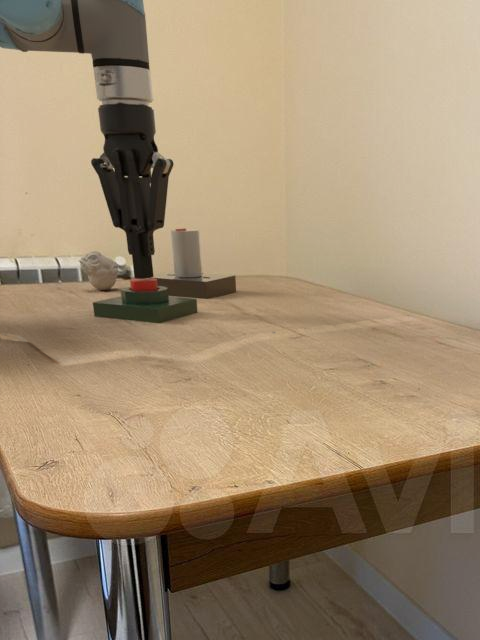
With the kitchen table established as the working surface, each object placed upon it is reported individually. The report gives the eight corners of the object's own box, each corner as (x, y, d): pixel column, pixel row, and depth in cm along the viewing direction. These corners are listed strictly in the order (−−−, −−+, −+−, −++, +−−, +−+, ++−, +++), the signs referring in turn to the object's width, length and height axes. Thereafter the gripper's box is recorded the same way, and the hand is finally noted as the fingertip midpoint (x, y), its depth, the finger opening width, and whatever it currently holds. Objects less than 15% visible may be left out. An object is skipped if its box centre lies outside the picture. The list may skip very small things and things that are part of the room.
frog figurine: (78, 289, 133) (73, 250, 130) (115, 286, 137) (111, 249, 134) (88, 293, 129) (83, 253, 126) (126, 290, 133) (122, 251, 130)
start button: (125, 292, 108) (124, 280, 108) (142, 288, 112) (141, 277, 111) (147, 294, 107) (146, 282, 106) (163, 290, 110) (162, 279, 110)
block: (94, 316, 108) (90, 290, 107) (136, 306, 117) (133, 282, 115) (159, 323, 104) (156, 295, 103) (197, 312, 113) (195, 287, 111)
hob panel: (142, 293, 130) (140, 275, 129) (174, 286, 138) (172, 269, 137) (207, 299, 125) (205, 280, 124) (236, 291, 134) (235, 274, 133)
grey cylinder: (185, 273, 134) (181, 226, 130) (207, 275, 132) (204, 228, 129) (169, 276, 129) (164, 228, 126) (191, 278, 128) (188, 229, 124)
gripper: (69, 103, 98) (93, 278, 107) (147, 100, 94) (164, 283, 103) (106, 107, 104) (125, 272, 114) (180, 105, 100) (194, 277, 109)
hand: (144, 277), depth 108 cm, fingers closed
